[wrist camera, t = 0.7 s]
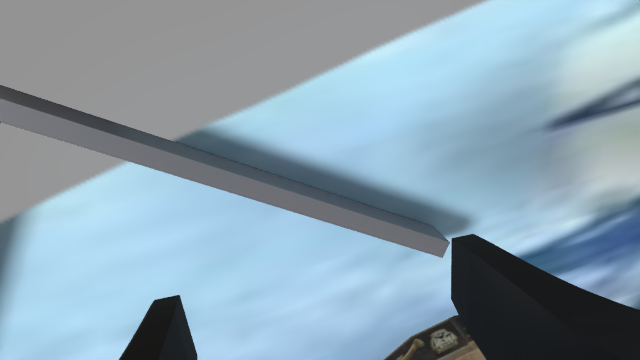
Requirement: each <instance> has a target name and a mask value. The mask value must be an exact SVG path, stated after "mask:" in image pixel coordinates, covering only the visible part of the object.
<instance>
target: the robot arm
mask: <svg viewBox="0 0 640 360" xmlns="http://www.w3.org/2000/svg"><path fill="white" fill-rule="evenodd" d="M451 299H452V302H453V304H454V306H455V308H456V310H457V312H458V314H459V316H460V318H461V320H462V322H463V324H464V326H465V328H466V330H467V331H468V333H469V335H470V336H471V338H472V339H473V341H474V342H475V344H476V345H477V347H478V348H479V350H480V351H481V353H482V354H483V356H484V357H485V359H486V360H640V310H638V309H635V308H632V307H629V306H626V305H623V304H620V303H617V302H615V301H612V300H609V299H607V298H604V297H601V296H599V295H596V294H593V293H591V292H589V291H586V290H584V289H581V288H579V287H577V286H575V285H573V284H570V283H568V282H566V281H564V280H562V279H559V278H557V277H555V276H553V275H551V274H549V273H547V272H545V271H543V270H541V269H539V268H537V267H535V266H533V265H531V264H529V263H527V262H525V261H524V260H522V259H520V258H518V257H516V256H514V255H512V254H510V253H509V252H507V251H505V250H503V249H501V248H499V247H498V246H496V245H494V244H492V243H490V242H488V241H486V240H485V239H483V238H481V237H479V236H477V235H474V234H470V235H466V236H461V237H456V238H452V264H451ZM119 360H197V353H196V350H195V346H194V343H193V339H192V336H191V333H190V329H189V326H188V322H187V319H186V315H185V312H184V309H183V305H182V302H181V298H180V295H177V296H172V297H167V298H162V299H157V300H154V302H153V303H152V304H151V306H150V308H149V310H148V311H147V313H146V315H145V317H144V319H143V320H142V322H141V324H140V326H139V327H138V329H137V331H136V333H135V334H134V336H133V338H132V339H131V341H130V343H129V344H128V346H127V348H126V349H125V351H124V352H123V354H122V356H121V357H120V359H119Z"/></svg>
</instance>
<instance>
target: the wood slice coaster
mask: <svg viewBox="0 0 640 360" xmlns="http://www.w3.org/2000/svg"><path fill="white" fill-rule="evenodd" d="M384 360H486V359H485V357H484V356H483V354H482V353H481V351H480V350H479V348H478V347H477V345H476V344H475V342H474V341H473V339H472V338H471V336H470V335H469V333H468V331H467V330H466V328H465V326H464V324H463V322H462V320H461V318H460V316H459V315H458V316H453V317H451V318H449V319H447V320H445V321H443V322H441V323H439V324H436V325H434V326H432V327H430V328H428V329H426V330H424V331H422V332H420V333H418V334H416V335H414V336H411V337H410V338H409V339H408V340H406V341H405V342H404V343H403V344H402V345H401V346H399V347H398V348H397V349H396V350H395V351H393V352H392V353H391V354H390V355H389V356H387V357H386V358H385V359H384Z"/></svg>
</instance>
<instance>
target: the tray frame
mask: <svg viewBox="0 0 640 360" xmlns="http://www.w3.org/2000/svg"><path fill="white" fill-rule="evenodd" d="M0 122H3V123H6V124H9V125H12V126H16V127H19V128H22V129H25V130H29V131H32V132H35V133H38V134H42V135H45V136H48V137H52V138H55V139H58V140H61V141H65V142H68V143H71V144H74V145H77V146H81V147H84V148H87V149H90V150H94V151H97V152H100V153H103V154H107V155H110V156H113V157H116V158H120V159H123V160H126V161H129V162H133V163H136V164H139V165H142V166H146V167H149V168H152V169H155V170H159V171H162V172H165V173H168V174H172V175H175V176H178V177H182V178H185V179H188V180H191V181H195V182H198V183H201V184H204V185H208V186H211V187H214V188H217V189H221V190H224V191H227V192H230V193H234V194H237V195H240V196H243V197H247V198H250V199H253V200H256V201H260V202H263V203H266V204H269V205H273V206H276V207H279V208H282V209H286V210H289V211H292V212H295V213H299V214H302V215H305V216H308V217H312V218H315V219H318V220H321V221H325V222H328V223H331V224H334V225H338V226H341V227H344V228H347V229H351V230H354V231H357V232H360V233H364V234H367V235H370V236H373V237H377V238H380V239H383V240H386V241H390V242H393V243H396V244H399V245H403V246H406V247H409V248H412V249H416V250H419V251H422V252H425V253H429V254H432V255H435V256H438V257H442V258H443V256H444V254H445V252H446V250H447V247H448V245H449V243H450V242H449V241H448V240H447V239H446V238H445V237H444V236H443V235H442V234H441V233H440V232H439V231H438V230H436V229H435V228H434V227H433V226H430V225H427V224H424V223H421V222H417V221H414V220H411V219H408V218H405V217H402V216H399V215H396V214H393V213H390V212H387V211H384V210H381V209H378V208H375V207H372V206H369V205H365V204H362V203H359V202H356V201H353V200H350V199H347V198H344V197H341V196H338V195H335V194H332V193H329V192H326V191H323V190H320V189H317V188H314V187H310V186H307V185H304V184H301V183H298V182H295V181H292V180H289V179H286V178H283V177H280V176H277V175H274V174H271V173H268V172H265V171H262V170H258V169H255V168H252V167H249V166H246V165H243V164H240V163H237V162H234V161H231V160H228V159H225V158H222V157H219V156H216V155H213V154H210V153H207V152H203V151H200V150H197V149H194V148H191V147H188V146H185V145H182V144H179V143H176V142H173V141H170V140H167V139H164V138H161V137H158V136H154V135H152V134H148V133H145V132H142V131H139V130H136V129H133V128H130V127H127V126H124V125H121V124H118V123H115V122H112V121H109V120H106V119H103V118H100V117H96V116H93V115H90V114H87V113H84V112H81V111H78V110H75V109H72V108H69V107H66V106H63V105H60V104H56V103H53V102H51V101H48V100H45V99H41V98H38V97H35V96H32V95H29V94H26V93H23V92H20V91H17V90H14V89H11V88H8V87H4V86H1V85H0Z"/></svg>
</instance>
